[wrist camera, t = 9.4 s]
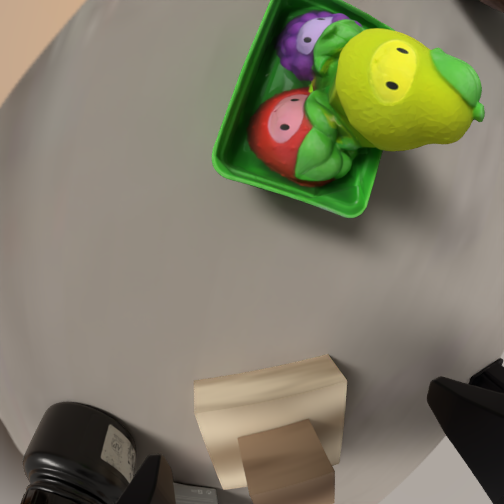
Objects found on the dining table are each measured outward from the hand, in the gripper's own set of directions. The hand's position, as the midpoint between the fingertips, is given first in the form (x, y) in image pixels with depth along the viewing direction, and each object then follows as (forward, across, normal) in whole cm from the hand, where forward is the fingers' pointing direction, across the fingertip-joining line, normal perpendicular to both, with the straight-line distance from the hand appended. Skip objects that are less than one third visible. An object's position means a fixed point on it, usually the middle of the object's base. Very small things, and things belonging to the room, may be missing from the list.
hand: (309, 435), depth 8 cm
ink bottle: (+12, +16, +11) cm, 23 cm away
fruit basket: (+12, -5, -11) cm, 17 cm away
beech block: (+12, 0, +11) cm, 17 cm away
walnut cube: (+8, 0, +11) cm, 14 cm away
